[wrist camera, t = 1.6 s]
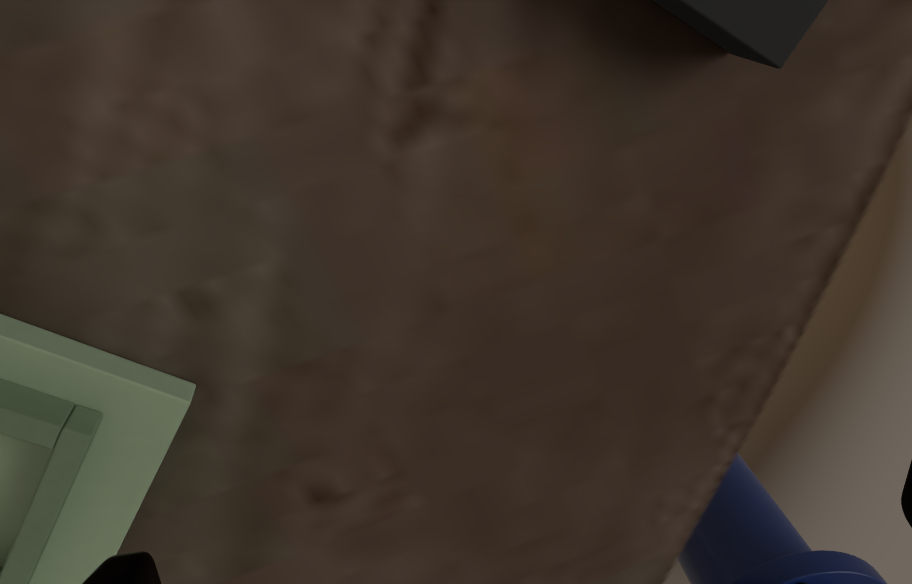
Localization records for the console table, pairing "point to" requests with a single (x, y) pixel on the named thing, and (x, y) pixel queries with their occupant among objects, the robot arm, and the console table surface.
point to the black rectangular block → (749, 24)
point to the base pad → (75, 451)
